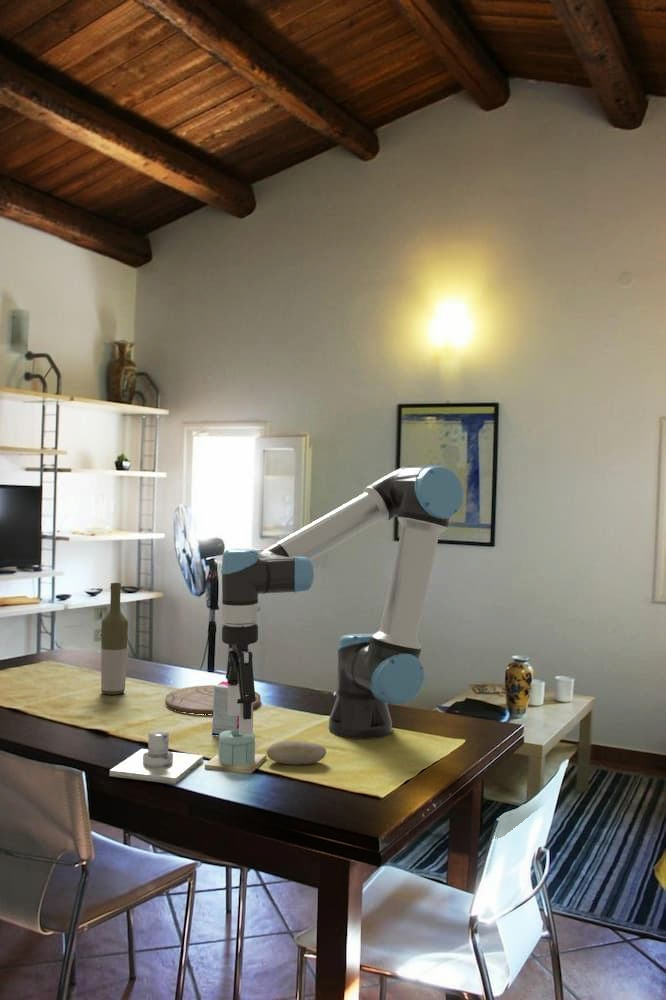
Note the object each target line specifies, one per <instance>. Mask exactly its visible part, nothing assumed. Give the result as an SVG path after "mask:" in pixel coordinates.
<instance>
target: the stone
mask: <svg viewBox="0 0 666 1000" xmlns="http://www.w3.org/2000/svg"><path fill="white" fill-rule="evenodd" d="M326 755H327V750H326V748H325V746H323V745H322V744H320V743H315V742H311V741H310V742H309V741H302V740H281V741H277V742H276V743H273V744H271V745H270V746H269V747H268V748H267V750H266V756H267V757H268V758H269V759H270V760H271V761H274V762H276V763H280V764H285V765H295V766H296V765H297V766H299V765H300V766H302V765H310V764H315V763H317V762H319V761H322V760H323V759H324V758H325V757H326Z"/></svg>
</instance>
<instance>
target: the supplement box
mask: <svg viewBox="0 0 666 1000" xmlns="http://www.w3.org/2000/svg"><path fill="white" fill-rule="evenodd" d="M215 685H216V686H215V687H214V704H213V716H212V726H211V736H212V735H219V734H220V733H221V732H223V731H227V730H232V729H235V728H239V715H236V716H228V685H230V684H228V683H227V681H221V682H220V683H218V684H215ZM237 685H239V684H237Z"/></svg>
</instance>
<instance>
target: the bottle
mask: <svg viewBox="0 0 666 1000" xmlns="http://www.w3.org/2000/svg"><path fill="white" fill-rule="evenodd" d="M121 588H122V583H121V582H111V583H110V588H109V589H110V601H109V602H110V604H109V605H110V607H109V608H110V609H109V611H108V613H107V614H106V616H104V618H103V619H102V621H101V630H100V632H101V633H100V634H101V635H100V636H101V639H100V641H101V644H100V645H101V647H100V649H101V652H100V653H101V655H100V657H101V659H100V660H101V661H100V662H101V667H100V672H101V673H100V676H101V677H100V679H101V680H100V681H101V682H100V683H101V684H100V688H101V693H103V694H104V695H108V696H116V695H120V694H122V693H124V692H125V690H126V682H127V681H126V678H127V677H126V676H127V659H128V658H127V655H128V654H127V653H128V633H129V621H128V618H127V617H126V616H125V615H124V614H123V613H122V612H121Z"/></svg>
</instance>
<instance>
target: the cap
mask: <svg viewBox="0 0 666 1000" xmlns="http://www.w3.org/2000/svg"><path fill="white" fill-rule="evenodd" d="M255 736H256V735H255V733H254V732H253V734H247V735H239V728H235V729H232V730H227V731H223V732H221V733H220V734H219V736H218V749H217V750H218V751H217V754H218V759H219V761H220V763H222V764H227V765H231V766H232V765H233V766H235V765H246V764H249V763H251V762H253V761H254V760H255V753H256V740H255V739H256V738H255Z"/></svg>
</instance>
